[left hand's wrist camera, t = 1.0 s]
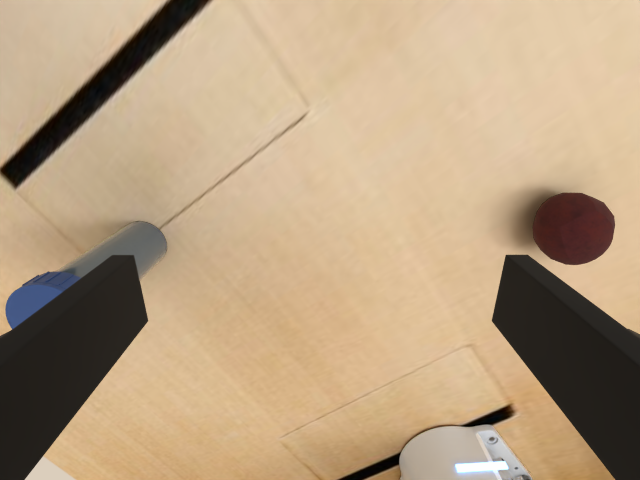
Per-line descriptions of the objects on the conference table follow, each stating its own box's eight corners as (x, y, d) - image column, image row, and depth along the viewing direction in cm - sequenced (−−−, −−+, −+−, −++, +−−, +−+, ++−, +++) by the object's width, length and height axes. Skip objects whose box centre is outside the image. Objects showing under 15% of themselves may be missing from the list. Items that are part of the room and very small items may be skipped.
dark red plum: (533, 258, 43) (572, 287, 36) (509, 207, 40) (545, 228, 34) (593, 227, 41) (645, 251, 35) (571, 172, 39) (622, 186, 32)
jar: (175, 256, 43) (101, 335, 28) (135, 269, 44) (42, 353, 29) (153, 215, 41) (62, 278, 27) (111, 229, 42) (0, 298, 27)
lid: (121, 325, 30) (106, 342, 28) (56, 345, 31) (37, 363, 29) (79, 260, 28) (60, 273, 26) (10, 283, 29) (-14, 298, 27)
